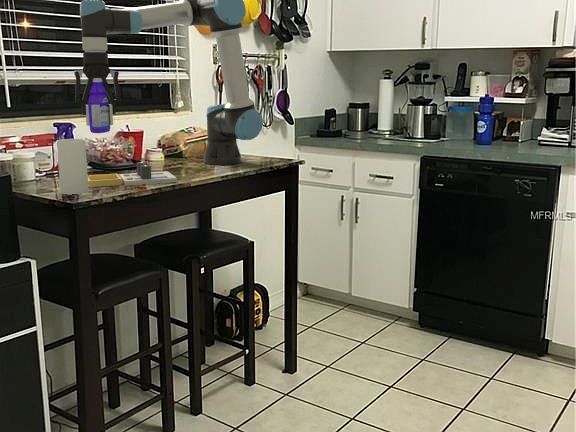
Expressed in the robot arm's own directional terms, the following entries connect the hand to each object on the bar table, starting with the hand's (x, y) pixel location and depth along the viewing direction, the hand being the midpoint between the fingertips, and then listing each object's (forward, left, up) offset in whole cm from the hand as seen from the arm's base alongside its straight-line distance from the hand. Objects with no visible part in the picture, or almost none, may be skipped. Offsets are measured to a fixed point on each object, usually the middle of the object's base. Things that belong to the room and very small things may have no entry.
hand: (99, 124), depth 203 cm
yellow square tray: (0, 0, -19) cm, 19 cm away
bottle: (0, 0, -3) cm, 3 cm away
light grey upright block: (+10, +12, -19) cm, 25 cm away
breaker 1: (-13, -3, -18) cm, 22 cm away
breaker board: (-15, 0, -19) cm, 24 cm away
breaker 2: (-13, +4, -18) cm, 22 cm away
